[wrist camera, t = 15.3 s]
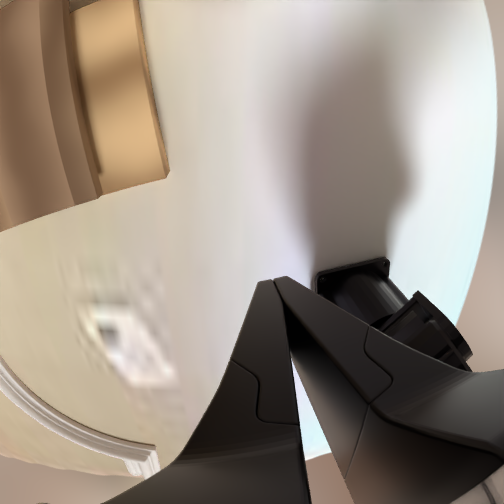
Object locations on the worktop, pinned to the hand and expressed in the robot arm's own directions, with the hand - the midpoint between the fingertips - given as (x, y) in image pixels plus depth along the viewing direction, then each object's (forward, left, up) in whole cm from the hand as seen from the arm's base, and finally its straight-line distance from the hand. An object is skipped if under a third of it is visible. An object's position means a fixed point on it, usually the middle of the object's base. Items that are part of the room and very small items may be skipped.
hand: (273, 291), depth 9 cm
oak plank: (+6, -8, -12) cm, 16 cm away
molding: (+30, +23, -13) cm, 40 cm away
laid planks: (+14, -9, -12) cm, 21 cm away
